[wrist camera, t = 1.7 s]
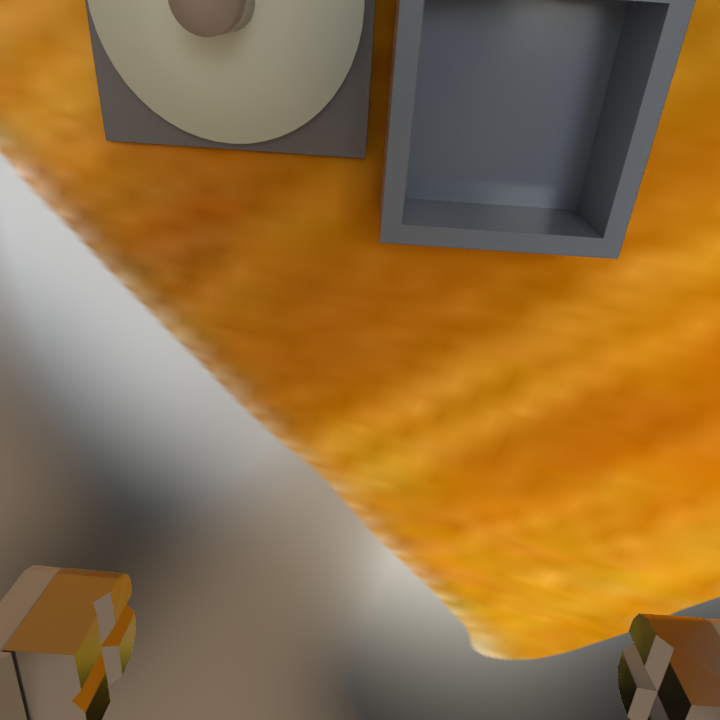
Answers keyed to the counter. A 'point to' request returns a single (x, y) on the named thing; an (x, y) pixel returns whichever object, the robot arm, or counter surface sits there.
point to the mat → (316, 137)
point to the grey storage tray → (524, 121)
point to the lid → (231, 60)
